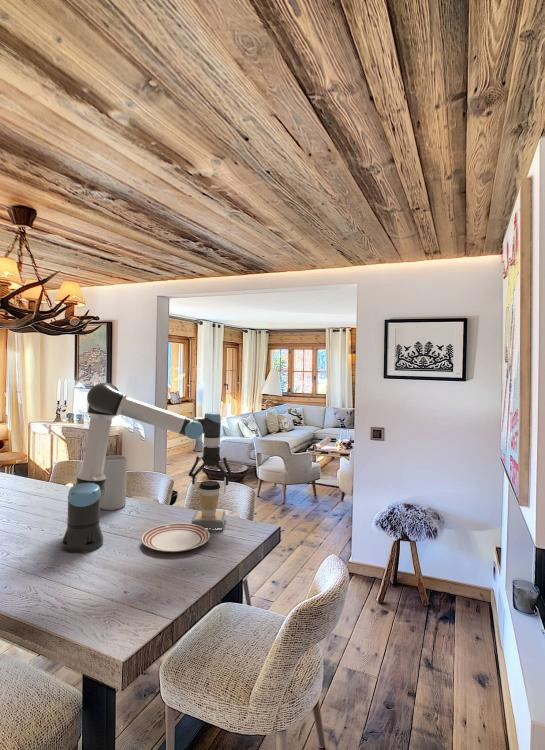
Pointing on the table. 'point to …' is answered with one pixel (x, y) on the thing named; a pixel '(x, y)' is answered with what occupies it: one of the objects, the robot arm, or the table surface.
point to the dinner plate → (175, 537)
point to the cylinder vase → (114, 482)
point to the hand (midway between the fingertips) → (210, 491)
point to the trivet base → (209, 520)
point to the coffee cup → (209, 497)
